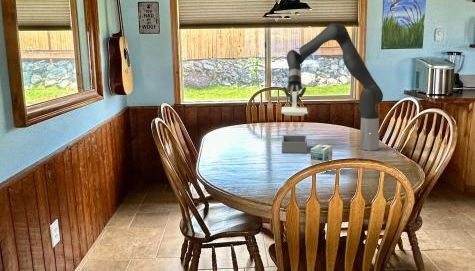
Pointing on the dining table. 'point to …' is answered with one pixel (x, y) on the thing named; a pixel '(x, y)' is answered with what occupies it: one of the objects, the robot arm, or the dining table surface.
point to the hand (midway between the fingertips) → (294, 101)
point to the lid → (294, 108)
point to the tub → (294, 144)
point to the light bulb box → (321, 154)
